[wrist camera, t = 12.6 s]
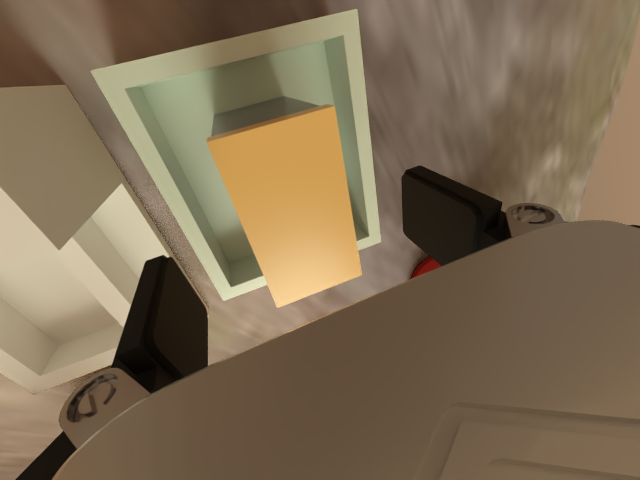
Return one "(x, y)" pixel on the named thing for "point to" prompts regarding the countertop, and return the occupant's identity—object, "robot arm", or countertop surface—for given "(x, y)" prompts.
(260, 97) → the tray
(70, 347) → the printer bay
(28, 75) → the countertop surface
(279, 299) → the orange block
